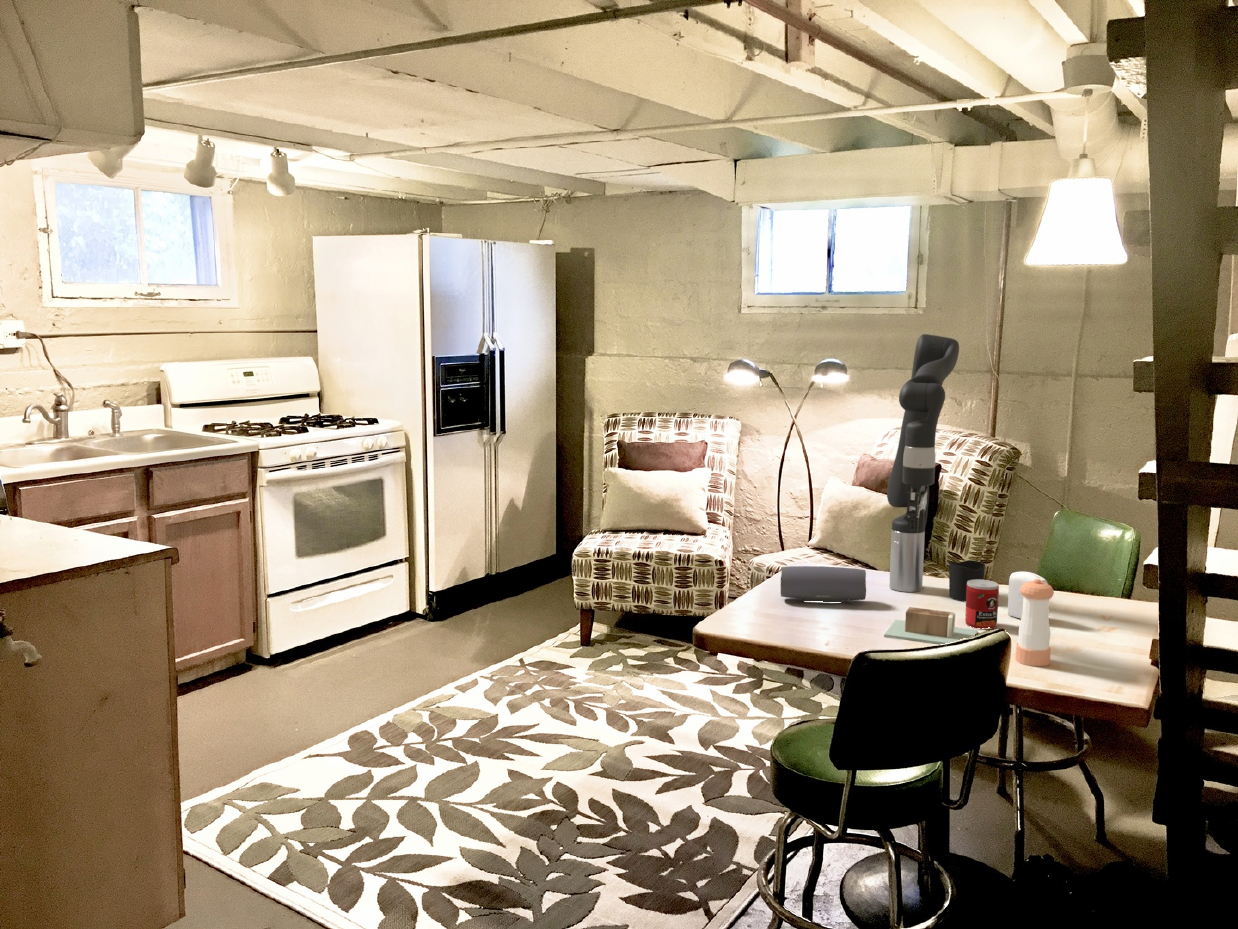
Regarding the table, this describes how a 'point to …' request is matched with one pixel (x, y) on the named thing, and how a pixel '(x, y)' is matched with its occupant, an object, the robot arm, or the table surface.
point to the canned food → (981, 603)
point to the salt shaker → (1034, 624)
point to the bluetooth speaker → (823, 583)
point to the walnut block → (930, 622)
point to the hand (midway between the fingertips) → (916, 529)
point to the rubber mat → (899, 631)
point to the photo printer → (1014, 591)
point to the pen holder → (963, 577)
